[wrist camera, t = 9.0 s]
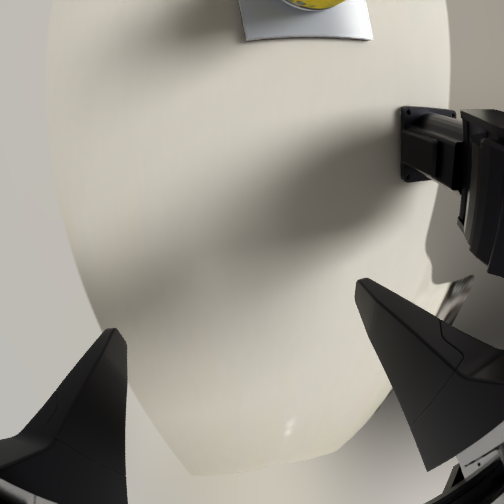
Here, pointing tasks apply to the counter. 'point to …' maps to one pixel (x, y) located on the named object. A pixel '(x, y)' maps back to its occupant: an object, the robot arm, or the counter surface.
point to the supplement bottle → (313, 4)
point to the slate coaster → (304, 20)
